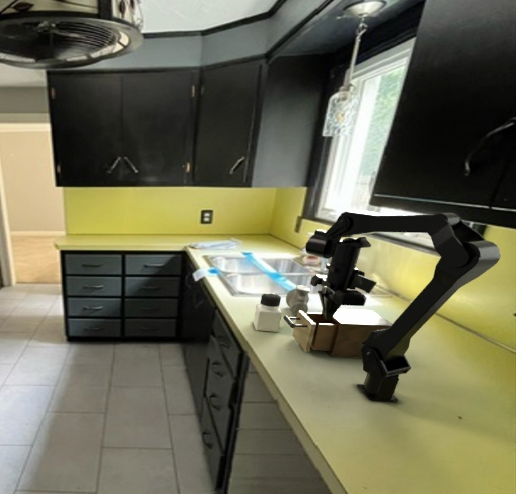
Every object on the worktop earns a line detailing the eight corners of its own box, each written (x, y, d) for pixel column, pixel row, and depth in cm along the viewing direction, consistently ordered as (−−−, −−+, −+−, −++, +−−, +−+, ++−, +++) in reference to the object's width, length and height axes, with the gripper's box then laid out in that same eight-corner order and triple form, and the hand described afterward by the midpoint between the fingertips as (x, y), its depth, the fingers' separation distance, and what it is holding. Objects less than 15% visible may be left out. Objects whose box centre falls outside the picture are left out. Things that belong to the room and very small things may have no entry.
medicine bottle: (278, 332, 123) (285, 298, 118) (256, 330, 124) (262, 297, 119) (273, 324, 129) (280, 292, 124) (253, 322, 131) (258, 290, 126)
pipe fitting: (283, 304, 147) (290, 281, 142) (304, 308, 145) (313, 285, 140) (283, 317, 138) (292, 293, 132) (306, 322, 135) (316, 297, 130)
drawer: (287, 350, 108) (294, 323, 105) (276, 334, 119) (281, 309, 115) (352, 353, 107) (361, 326, 103) (335, 337, 117) (342, 312, 113)
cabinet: (331, 356, 107) (341, 323, 103) (314, 338, 118) (322, 308, 114) (383, 359, 106) (396, 325, 101) (361, 341, 117) (371, 310, 113)
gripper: (399, 273, 83) (378, 334, 90) (358, 255, 100) (342, 308, 107) (348, 271, 84) (330, 332, 91) (316, 254, 101) (303, 307, 108)
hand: (327, 319), depth 99 cm, fingers closed
